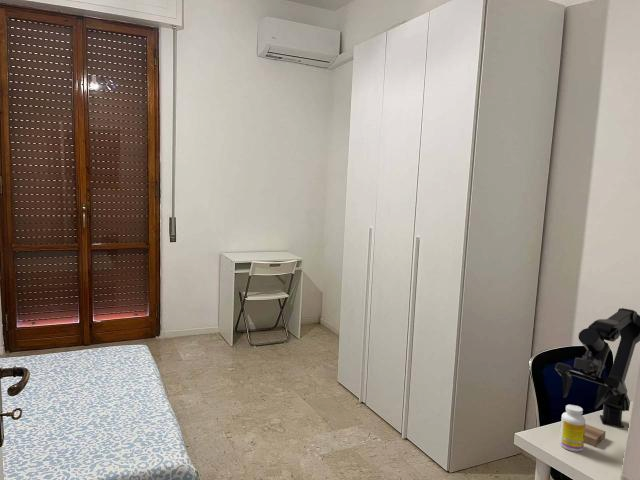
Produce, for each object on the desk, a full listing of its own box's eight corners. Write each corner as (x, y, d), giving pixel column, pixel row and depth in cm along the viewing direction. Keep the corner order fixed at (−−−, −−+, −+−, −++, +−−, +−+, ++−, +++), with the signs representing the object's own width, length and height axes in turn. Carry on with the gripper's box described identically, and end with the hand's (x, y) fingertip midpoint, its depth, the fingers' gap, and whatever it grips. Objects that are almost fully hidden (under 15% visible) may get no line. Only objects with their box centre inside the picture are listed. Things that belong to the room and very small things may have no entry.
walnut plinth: (577, 428, 158) (578, 421, 158) (604, 438, 152) (605, 431, 152) (567, 436, 153) (567, 428, 153) (595, 447, 147) (595, 439, 146)
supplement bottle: (586, 453, 143) (589, 413, 141) (563, 450, 144) (566, 411, 143) (578, 442, 149) (582, 404, 148) (556, 439, 150) (559, 401, 149)
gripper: (557, 339, 152) (540, 383, 148) (621, 356, 137) (604, 405, 133) (568, 353, 158) (552, 395, 154) (630, 370, 144) (615, 417, 139)
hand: (579, 402), depth 145 cm, fingers open, 9 cm apart
